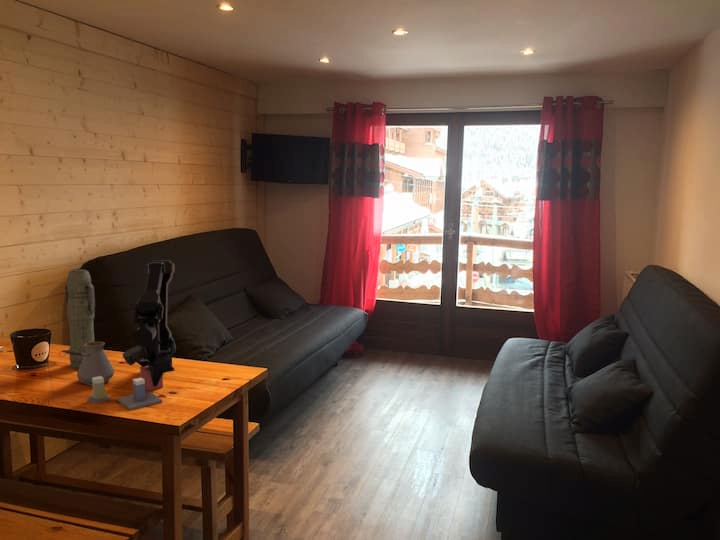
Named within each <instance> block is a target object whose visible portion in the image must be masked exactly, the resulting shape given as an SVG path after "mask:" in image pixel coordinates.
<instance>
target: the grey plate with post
mask: <svg viewBox="0 0 720 540" xmlns="http://www.w3.org/2000/svg"><path fill="white" fill-rule="evenodd" d="M132 390H133V391H132V394H129V395H125V396H121V397H116V401H117V402H118V403H119V404H120V405H122V406H123V407H124V408H126V409H127V410H128V411H133V410H137V409H140V408H145V407H149V406H153V405H158V404H161V403H163V399H161V398H160V397H158V396H157V395H156V394H154V393H153V392H151V390H149V391H147V390H145V380H144V379H143V378H141V377H138V378H133V379H132Z"/></svg>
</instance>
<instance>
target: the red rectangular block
mask: <svg viewBox="0 0 720 540" xmlns="http://www.w3.org/2000/svg"><path fill="white" fill-rule="evenodd" d="M148 367H149V366H144V367H141V366H140V367H139V372H140V378H143V379H144V380H145V391H155V390H157V389H161V388H162V389H163V387H164V385H163V383H164V382H163V381H164V379H163V375H164V374H162V376H161V379H160V381H159V383H158V385H157V386H155V387H154V386H153V382H152V377H151V372H150V371H149V370H148V369H146V368H148Z"/></svg>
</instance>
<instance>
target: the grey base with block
mask: <svg viewBox="0 0 720 540" xmlns="http://www.w3.org/2000/svg"><path fill="white" fill-rule="evenodd" d="M91 386H92V395H91V396H87V400H88V401H89V402H90V403H91V404H92V405H95V404H99V403H104V402H109V401H111V397H110V396H109V395H107V394H106V393H105V383H104V378H103V377H102V376H98V377H93V378H92V385H91Z"/></svg>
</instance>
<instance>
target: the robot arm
mask: <svg viewBox="0 0 720 540" xmlns="http://www.w3.org/2000/svg"><path fill="white" fill-rule="evenodd" d="M175 266H176V265H175V262H172V260H169V259H165V260H164V259H163V260H162V259H159V260H156V259H154V260H152V261H151V262H148V263H147V274H148V276H147V280H146V284H145V291H144V293H143V294H141V295H140V296H139V298H138V302H136V304H135V310H134V318H133V324H138V328H137V329H136V330H135V331H134V332H133V335H132V336H133V337H132V339H133V341H134V343H135V344H136V346H134V347H132V348H129V349H128V350H126V351H124V352H123V353H122V354H121V355H122V357H123V359H124V361H125V363H126V364H128V365H129V366H132V365H135V364H136V363H137V364H138V365H139V366H140V367H144V366H149V367H148V368H146V369H148V370H149V371H150V372H151V377H152V382H153V386H154V387H155V386H157V385H158V383H159V381H160V379H161V376H162V375H164V372H169V371H174V370H175V367H173V354H175V353H176V352H177V349H176V348H177V346H176V343H175V340H174V338H173V336H172V335H173V334H172V331H171V330H170V328H169V326H168V305H169V304H168V302H169V298H168V296H169V294H168V293H169V285H170V283H171V282H172V280H173V278H174V273H175V272H176V270H175V269H176V267H175Z"/></svg>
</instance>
